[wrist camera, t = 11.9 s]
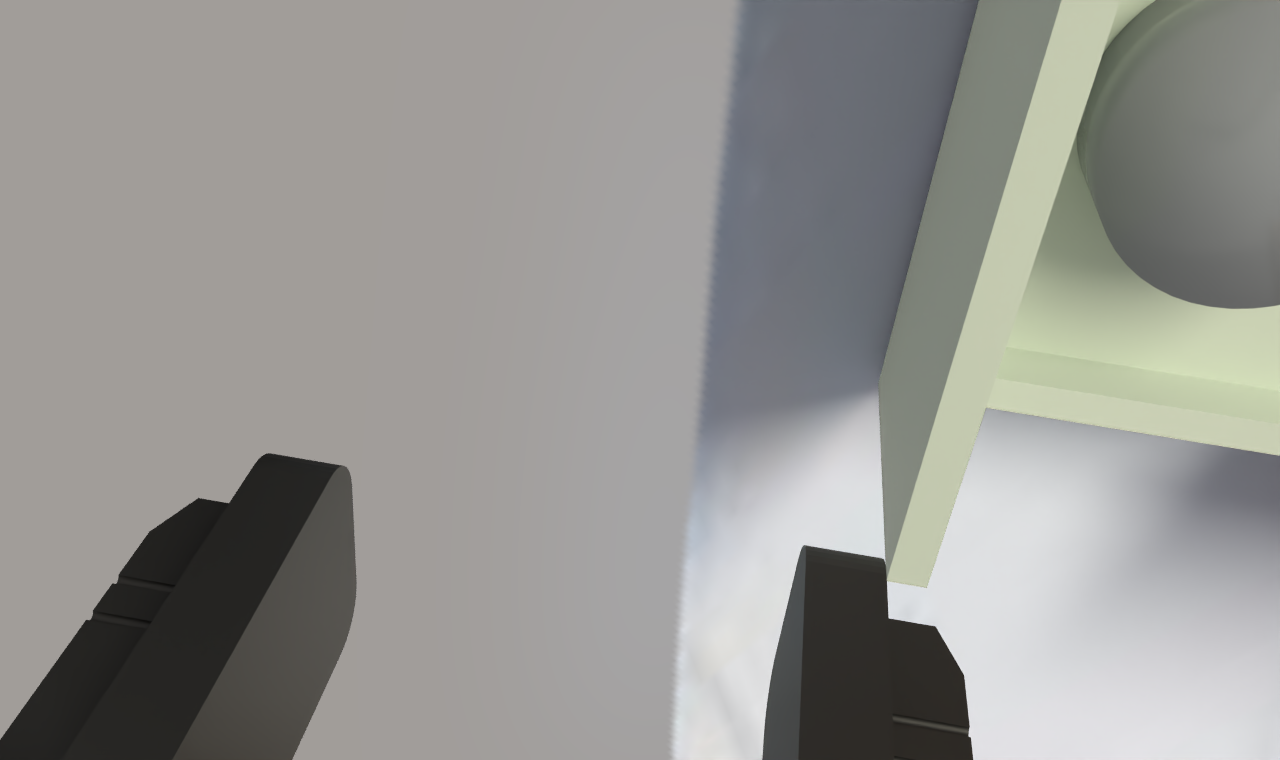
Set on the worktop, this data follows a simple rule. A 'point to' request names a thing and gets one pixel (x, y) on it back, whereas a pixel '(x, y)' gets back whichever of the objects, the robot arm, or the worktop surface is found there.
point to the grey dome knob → (1191, 149)
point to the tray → (1042, 289)
